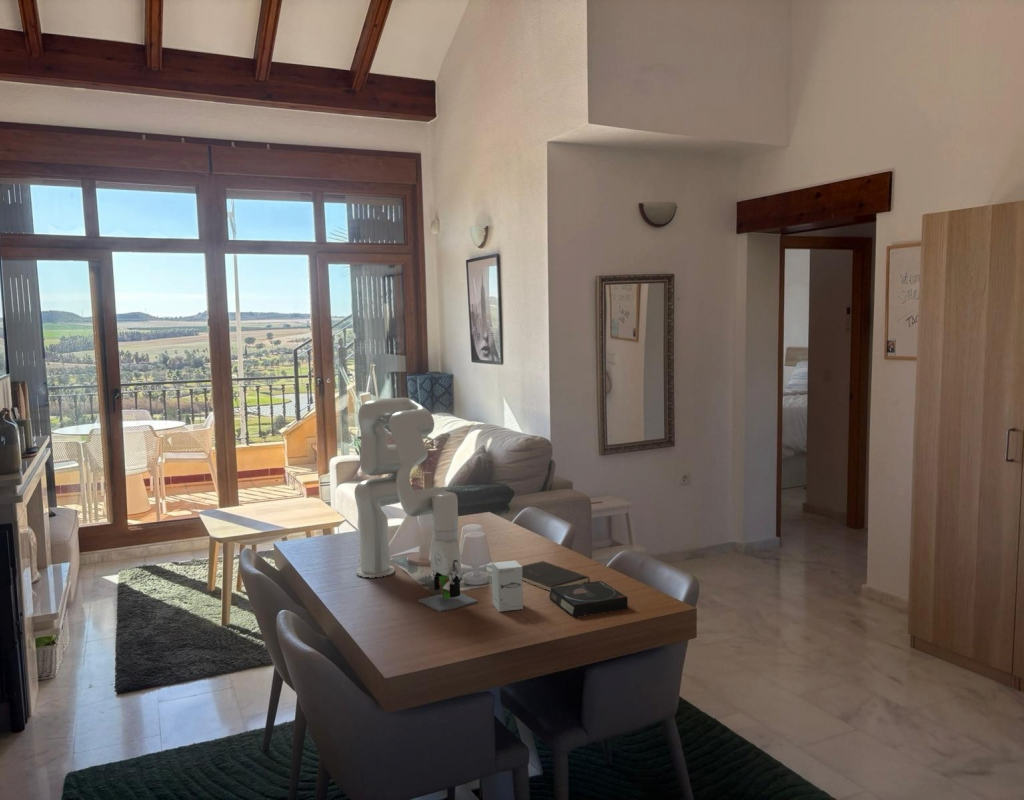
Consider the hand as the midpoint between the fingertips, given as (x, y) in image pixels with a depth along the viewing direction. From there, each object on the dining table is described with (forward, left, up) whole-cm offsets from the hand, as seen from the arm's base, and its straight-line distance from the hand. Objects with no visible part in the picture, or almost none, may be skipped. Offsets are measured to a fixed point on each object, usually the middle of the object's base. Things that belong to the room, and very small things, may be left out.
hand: (447, 592), depth 235 cm
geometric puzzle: (0, 0, -2) cm, 2 cm away
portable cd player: (+28, +30, -3) cm, 41 cm away
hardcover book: (+1, +37, -4) cm, 37 cm away
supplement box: (+15, +11, -3) cm, 19 cm away
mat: (0, 0, -3) cm, 3 cm away
